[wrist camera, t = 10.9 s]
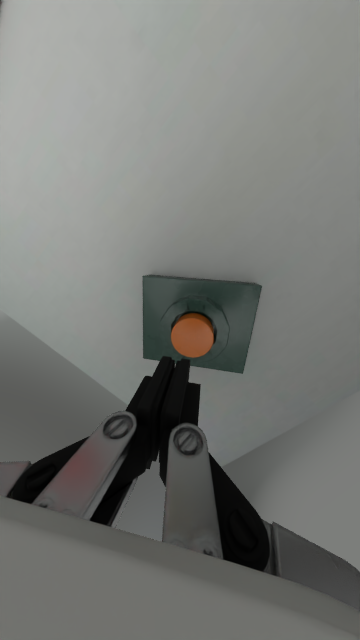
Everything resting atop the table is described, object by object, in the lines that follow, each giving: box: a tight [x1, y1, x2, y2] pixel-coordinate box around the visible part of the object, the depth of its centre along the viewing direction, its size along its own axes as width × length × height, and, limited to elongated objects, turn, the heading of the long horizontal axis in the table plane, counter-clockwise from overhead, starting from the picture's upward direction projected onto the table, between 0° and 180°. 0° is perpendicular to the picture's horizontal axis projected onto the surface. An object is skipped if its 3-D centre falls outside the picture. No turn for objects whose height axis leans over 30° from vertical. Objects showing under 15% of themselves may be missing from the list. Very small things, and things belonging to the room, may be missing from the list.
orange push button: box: [171, 313, 214, 358], centre depth 17 cm, size 4×4×2 cm
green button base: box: [143, 275, 262, 374], centre depth 19 cm, size 12×10×4 cm
